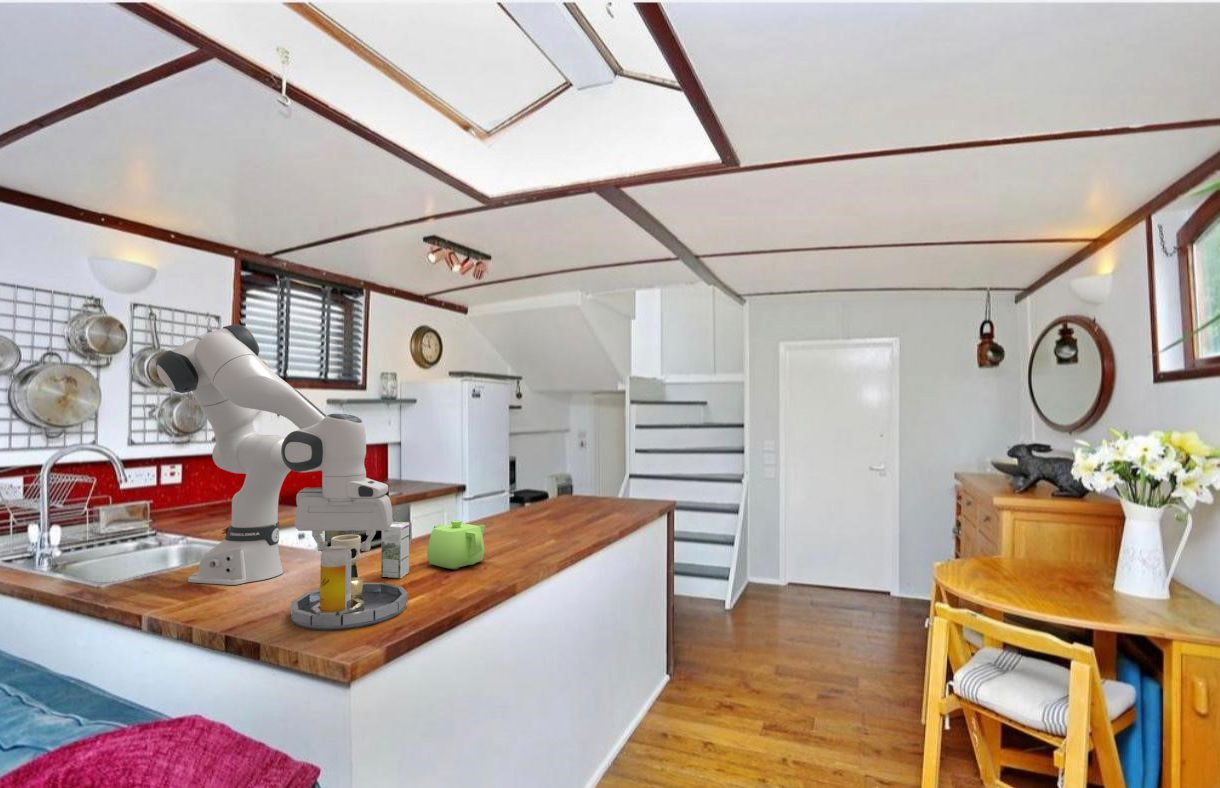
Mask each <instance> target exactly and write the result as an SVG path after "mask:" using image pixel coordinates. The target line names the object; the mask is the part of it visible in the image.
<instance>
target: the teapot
mask: <svg viewBox="0 0 1220 788" xmlns="http://www.w3.org/2000/svg"><path fill="white" fill-rule="evenodd" d="M485 530H486V525H485V524H478V525H474V524H470V523H469V524H468V523H463V520H460V519H459V520H458V519H455V520H451V521H450V524H447V525H441V524H439V525H434V526H433V528H432V530H431V533H430V536H429V541H428V544H427V552H426V555H427V561H428V563H429V565H433V566H437V567H441V568H444V569H445V568H446V569H450V570H458V569H460V568H462V567H465V566H473V565H475V564H476V563H478V562H481V561H483V559H484V556H485V543H484V538H483V537H484V532H485Z"/></svg>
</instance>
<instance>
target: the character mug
mask: <svg viewBox="0 0 1220 788" xmlns="http://www.w3.org/2000/svg"><path fill="white" fill-rule="evenodd" d="M330 539H331V540H330V541H331V542H330V546H338V545H344V546H349V547H350V550H351V578H352V577H359V576H358V566H357V564H356V563H358V562H360V561H361V558H362V555H361V543H362V540H361V539H362V536H361V535H359V534H343V535H341V534H340V535H336V536H333V537H331V538H330Z"/></svg>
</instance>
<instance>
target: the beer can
mask: <svg viewBox="0 0 1220 788" xmlns="http://www.w3.org/2000/svg"><path fill="white" fill-rule="evenodd" d="M319 582H320V583H319V586H320V587H319V590H320V609H321V610H322V611H340V610H344V609H348V608H351V550H350V547H349V546H344V545H338V546H331V545H330V546H328V547H326V548H324V549H323V551H321V554H320V581H319Z"/></svg>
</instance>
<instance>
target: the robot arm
mask: <svg viewBox="0 0 1220 788" xmlns="http://www.w3.org/2000/svg"><path fill="white" fill-rule="evenodd" d="M259 353H260V346H259V344H258V341H257V339H256V337H255V335H254V334H253V333H252V332H251V331H250V330H249V329H248V328H247V327H245V326H243V325H241V324H238V323H237V324H236V323H235V324H230V325H225V326H223V327H222V328H220V329H216V330H213V331H209V332H206V333H204V334H201V335H198V336H196V337H195V338H193V339H191V340H188V341H186V342H185V343H183V344H181V345H179V346H177V347H175V348H173V349H172V350H171V349H170V350H167V351H165V352H164V353H163V354H161V355H160V356H158V357H157V359H156V362H155V366H156V367H155V368H156V373H157V374H158V377H159V380H160V381H161V382H162V384H164V385H165V386H166V387H168V388H170V390H172V391H173V392H175V393H179V394H186V393H190V392H191V393H192V394H193V396H194V398H195V399H194V400H196V402H197V404H198V405H199V408H200V409H201V410H202V412H203V414H204V416H205V418H206V419H207V421H208V423H209V424H210V425H211V429H212V431H213V433H214V438H215V445H214V446H213V449H212V460H213V462H214V464H215V465H216V466H217V468H219V469H220V470H221V469H222V470H224V471H226V472H229V473H233V474H243V475H244V474H245V478H244V482H243V485H242V487H241V488H240V490H239V491H237V492H236V493H235V494H234V495H233V497H232V499H231V525H230V526H228V527H226V528H224V529H221V530H220V531H221V535H225V536H224V539H223V540H222V541H221V542H219V543H218V544H216V546H214V547H213V548H212V549H210V550H208V552H205V554H204V555H203V556H202V557H201V558H200V562H199V566H198V571H196V572H195V573H193V574H191V575H190V576H188V578H187V579H188V580H187V582H188V583H196V584H197V583H198V584H213V585H227V586H237V585H240V584H245V583H251V582H258V581H264V580H268V579H271V578H275V577H278V576H280V575H282V574H283V573H284V568H283V565H282V561H281V557H280V550H279V541H280V522H279V517H278V515H279V514H278V513H279V498H280V492H281V489H282V486H283V483H284V481H285V479H286V477H287V475H288V474H289V473H290V472H291V471H292V472H295V473H296V472H297V473H309V472H311V473H312V472H319V471H321V472H322V473H321V474H322V478H321V479H322V480H321V481H322V482H321V483H322V484H321V486H322V487H304V488H303V489H301V490H299V491H298V492H297V494H296V498H295V500H296V511H295V516H294V517H295V520H294V527H295V528H296V530H297V531H299V532H302V531H303V532H311V536H312V538H313V540H314V541H315V543H316V544H317V546H316V547H317V548H316V550H317V552H322V551H323V549H324V548H326V547H329V546H328V545H329V544H328V541H325V540H324V539H323V537H322V534H323V532H325V531H328V532H333V531H337V532H339V531H342V532H343V531H346V532H347V531H365V535H366V536H367V538H366V540H365V541H361V546H360V552H361V551H363V552H365V551H367V552H369V551H370V550H371V543H372V540H373V539H374V537H375V535H376V534H377V531H382V530H386V529H388V528H389V527H390V526H391V525H392V522H394V520H393V508H392V502H391V498H390V497H389V496H388V495H387V493H388V491H389V486H388V484H386V483H384V482H380V481H377V480H375V479H371V478H369V477H367V470H366V467H365V459H366V456H367V439H366V438H367V437H366V436H367V435H366V429H365V425H364V422H363V420H362V419H361V418H359V417H358V416H355V415H352V414H345V413H329V414H326V413H324V412H323V411H322V410H321V409H320V408H319V407H318V406H316V405H315V404H314V403H313V402H312V401H310V399H308V398H307V397H306V396H305V395H304V394H302V393H301V391H299V390H297V389H296V388H294V387H293V386H292V385H290V383H288V382H286V381H285V380H284V379H283V378H281V377H280V376H278V375H277V374H276V372H275V371H273V370H272V369H271V368H270V367H269V366H267V364H265V362H263V361H262V359H261V358H260V357H259ZM258 411H264V412H267V413H273V414H276V415H279V416H282V417H283V418H286V419H287V420H289V421H290V422H292V424H294V425H295V426H296V427H297V428H298V429H297V430H294V431H292V432H291V431H290V433H288V434H287V435H286V436H281V435H277V434H259V433H258V432H257V431H256V429H255V428H254V423H253V421H254V419H255V418H256V416H257V412H258Z"/></svg>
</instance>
